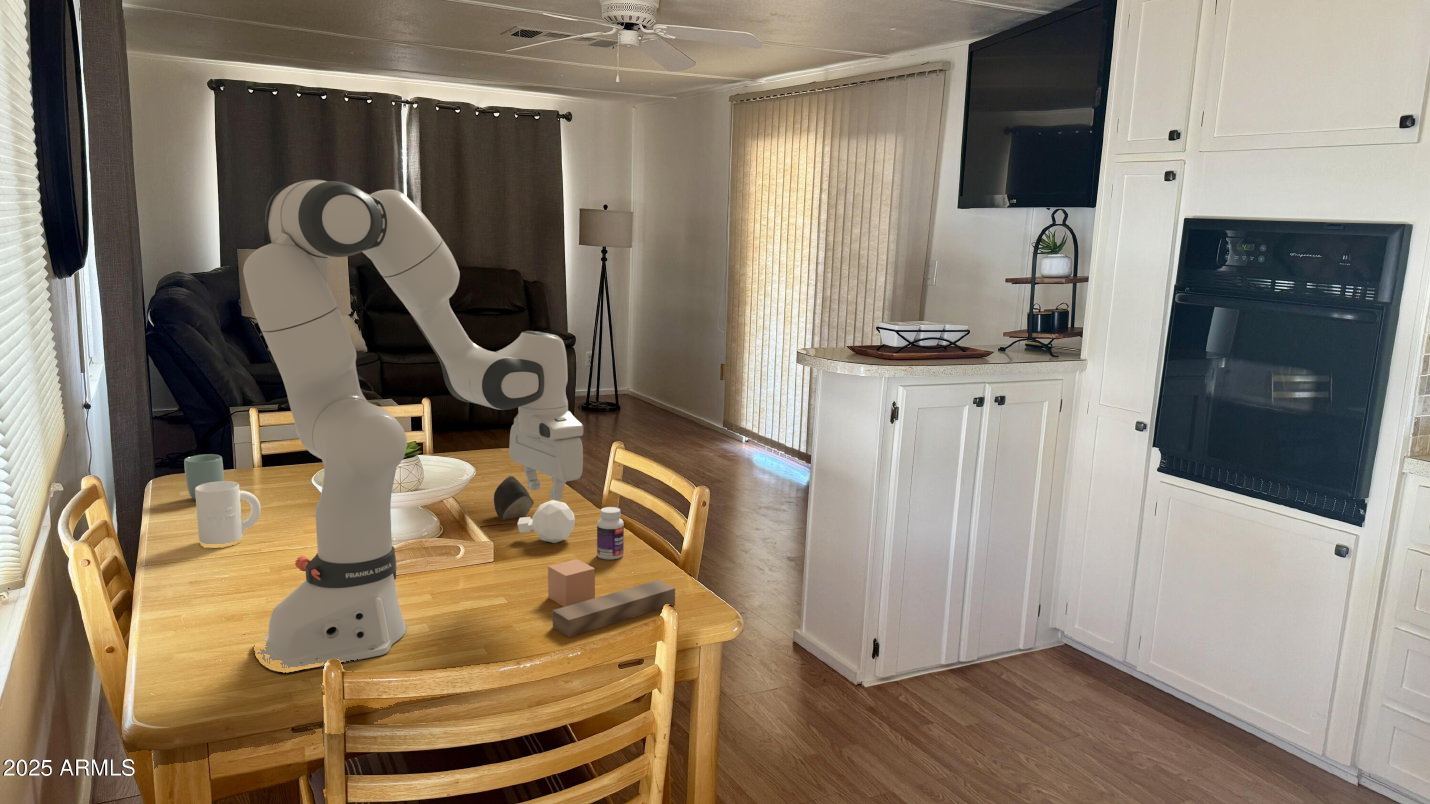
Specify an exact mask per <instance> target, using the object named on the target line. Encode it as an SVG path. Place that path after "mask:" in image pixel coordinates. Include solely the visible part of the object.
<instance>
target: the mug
mask: <svg viewBox="0 0 1430 804" xmlns="http://www.w3.org/2000/svg"><path fill="white" fill-rule="evenodd" d="M195 497H196V500H195V506H196V507H195V508H196V516H197V517H196V518H197V530H198V542H199V541H200V542H202V543H205V544H225V543H230V542H235V541H238V540H239V539H241V538H242V537H243V538H244V535H243V534H244V533H243V531H246V530H249V528H251V527H252V526H254V525H255V524H256V523H257V521H258V520H259V517H260V515H261V503H260V501H259V499H258V497H257V496H255V495H254V493H251V492H249V491H246V490H240V484H239V483H238V482H236V481H229V480H224V481H218V482H210V483H205V484H202V485H199V486H197V487H196V488H195ZM241 500H243V501H245V502H247V503H248V505H249V506H250V512H249V514H248V516H247V518H246V519H245V520H243V518H242V517H243V516H242V508H241V507H242V505H241Z"/></svg>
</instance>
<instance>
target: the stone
mask: <svg viewBox="0 0 1430 804" xmlns="http://www.w3.org/2000/svg"><path fill="white" fill-rule="evenodd" d="M534 504H535V503H534V500H533V499H532V496H531V495H530V493H529V492H528V490H527V488H526V487H525V486H524V485H523V484H522V483H521V482H520V481H519V480H518V479H517V478H516V477H515V476H513V475H510V476H508V477H506V478H505V479H504V480H502V482H501V483H500V484H499V485H498V486H497V488H496V489H495V491H494V493H493V505H494V510H495V513H496V515H497V516H498V518H499V520H501V521H506V520H511V519H512V520H513V519H517V518H522V517H527V515H528V513H529V512H530V510H531V508H532V507H533V505H534Z"/></svg>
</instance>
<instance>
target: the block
mask: <svg viewBox="0 0 1430 804" xmlns="http://www.w3.org/2000/svg"><path fill="white" fill-rule="evenodd" d="M547 581H548V582H547V583H548V584H547V587H548V588H547V590H548V591H547V593H548V596H547V597H548V599H550V600H552V601H554V602H555V603H557V604H558V605H561V606H562V607H566V606H569V605H573V604H576V603H580V602H583V601H587V600H590V599H594V598H596V568H595V567H593V566H591V565H589V564H587V563H585V562H584V561H582V560H579V559H577V558H575V559H571V560H568V561H564V562H558V563H556V564H552V565H551V564H550V565H548V566H547Z"/></svg>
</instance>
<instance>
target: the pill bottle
mask: <svg viewBox="0 0 1430 804" xmlns="http://www.w3.org/2000/svg"><path fill="white" fill-rule="evenodd" d="M624 528H625V525H624V521H623V519H622V518H621V508H619V507H614V506H607V507H603V508H601V509H600V519H599V520H597V522H596V555H597V557H598V558H600V559H601V560H609V561H611V560H619V559H620V558H622V557H623V556H624V548H625V546H624V541H625V539H624V538H625V536H624V535H625V533H624V531H625V529H624Z"/></svg>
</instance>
